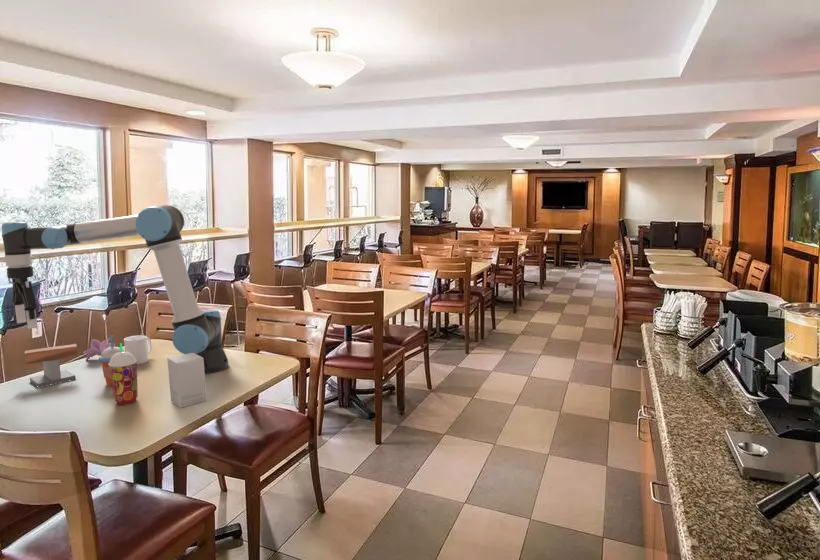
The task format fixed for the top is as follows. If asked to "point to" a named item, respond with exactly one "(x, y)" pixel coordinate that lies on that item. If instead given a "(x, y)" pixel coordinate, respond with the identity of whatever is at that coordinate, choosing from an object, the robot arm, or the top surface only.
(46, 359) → the batten
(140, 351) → the cup
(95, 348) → the lily
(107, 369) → the cup with straw
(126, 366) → the smoothie
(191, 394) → the supplement box
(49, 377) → the ridge stand
